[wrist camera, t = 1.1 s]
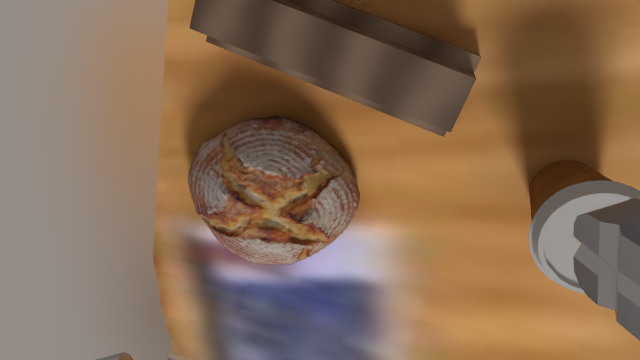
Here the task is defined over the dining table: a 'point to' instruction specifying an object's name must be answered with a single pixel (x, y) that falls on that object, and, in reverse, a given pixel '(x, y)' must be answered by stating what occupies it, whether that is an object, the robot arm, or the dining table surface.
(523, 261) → the dining table surface
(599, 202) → the disposable coffee cup
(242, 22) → the ridge stand
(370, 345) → the dining table surface
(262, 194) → the bread
